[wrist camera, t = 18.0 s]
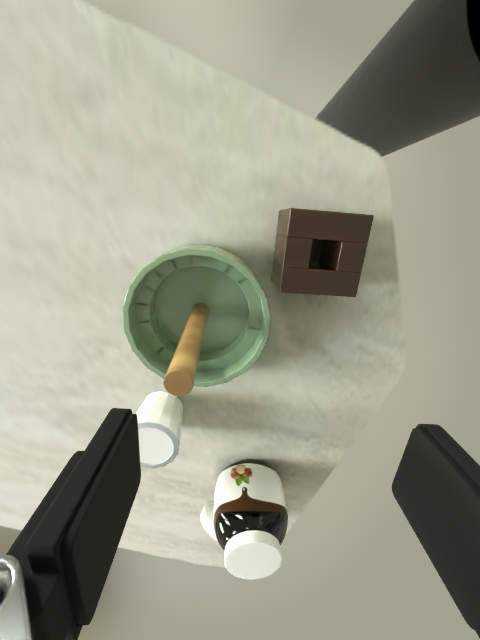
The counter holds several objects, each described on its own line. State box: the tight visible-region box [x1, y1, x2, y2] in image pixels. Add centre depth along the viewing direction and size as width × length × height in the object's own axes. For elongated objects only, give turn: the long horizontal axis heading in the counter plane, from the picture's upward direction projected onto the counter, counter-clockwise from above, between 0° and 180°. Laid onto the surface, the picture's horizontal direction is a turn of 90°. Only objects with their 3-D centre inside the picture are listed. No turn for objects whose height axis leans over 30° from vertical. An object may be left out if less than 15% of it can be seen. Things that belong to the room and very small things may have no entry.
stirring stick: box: [164, 303, 209, 396], centre depth 26 cm, size 2×2×16 cm
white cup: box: [136, 391, 183, 468], centre depth 36 cm, size 7×7×7 cm
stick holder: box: [271, 208, 373, 297], centre depth 29 cm, size 8×8×6 cm
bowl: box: [123, 245, 271, 387], centre depth 32 cm, size 15×15×6 cm
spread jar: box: [201, 460, 288, 580], centre depth 39 cm, size 12×11×12 cm
